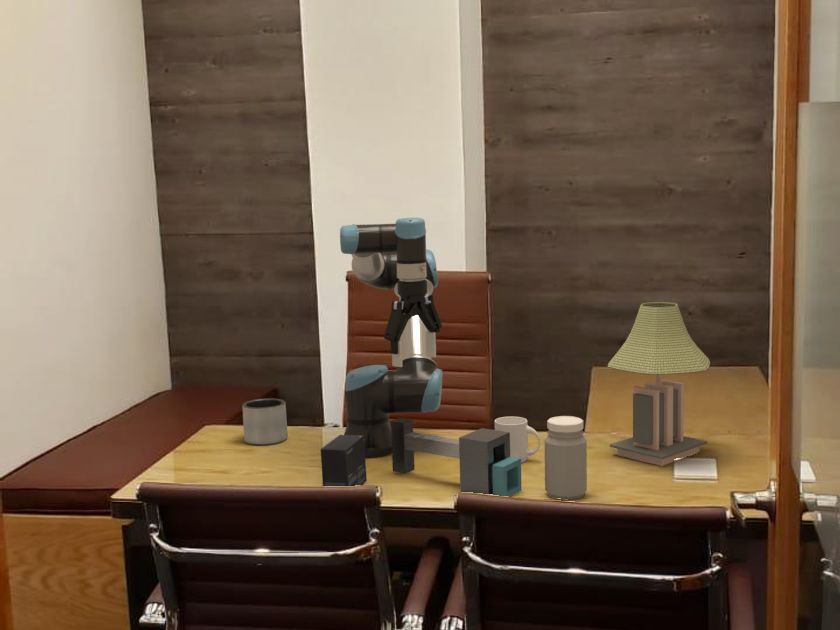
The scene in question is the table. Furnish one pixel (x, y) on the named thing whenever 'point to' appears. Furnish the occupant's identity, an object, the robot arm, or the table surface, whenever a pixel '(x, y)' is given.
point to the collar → (500, 473)
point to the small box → (344, 461)
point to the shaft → (416, 445)
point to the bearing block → (481, 458)
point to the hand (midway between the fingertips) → (414, 361)
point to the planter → (264, 421)
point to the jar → (565, 458)
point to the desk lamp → (659, 384)
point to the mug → (517, 436)
